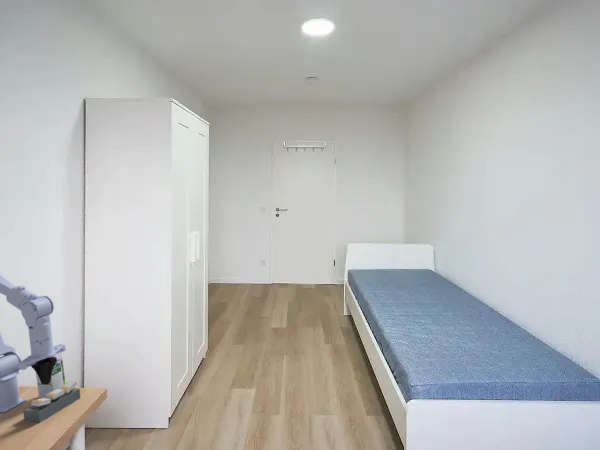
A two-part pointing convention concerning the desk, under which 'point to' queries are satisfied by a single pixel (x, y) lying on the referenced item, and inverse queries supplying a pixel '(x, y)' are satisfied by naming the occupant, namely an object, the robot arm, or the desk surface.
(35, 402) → the rocker
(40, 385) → the syrup box
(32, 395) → the desk surface
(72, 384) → the rocker
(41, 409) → the rocker switch panel
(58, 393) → the block
